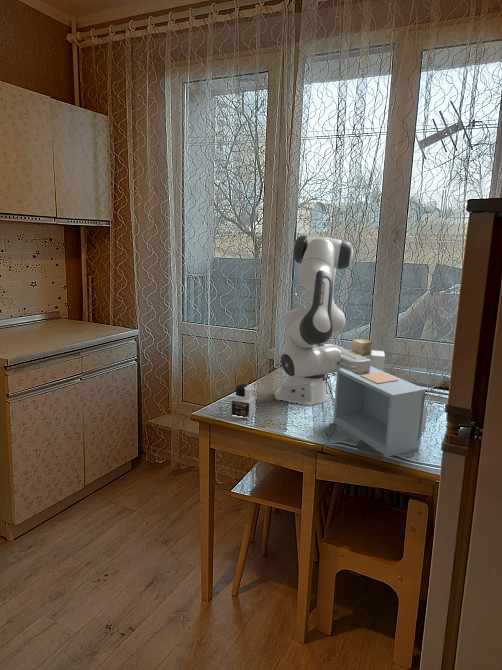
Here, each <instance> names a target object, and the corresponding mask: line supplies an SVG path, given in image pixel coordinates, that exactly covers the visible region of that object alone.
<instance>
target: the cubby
mask: <svg viewBox="0 0 502 670" xmlns="http://www.w3.org/2000/svg"><path fill="white" fill-rule="evenodd" d="M335 380H336V381H335V397H334V411H333V424H335V426H338V427H339V428H341V429H342V428H343V429H342V430H344V431H345V430H346V432H347V431H348V432H347V433H349V434H350V433H351V434H350V435H352V436H353V435H354V436H353V437H354V438H356V437H357V439H358V438H359V439H358V440H360V441H361V440H362V441H361V442H363V441H364V442H365V444H366V443H367V444H368V446H369V445H370V446H369V447H371V446H372V447H373V448H372V447H371V448H372V449H374V450H375V449H376V450H375V451H377V452H378V451H379V452H378V453H380V452H381V453H380V454H382V455H383V454H384V455H383V456H385V457H386V458H389V457H392V456H395V455H400V454H405V453H407V452H412V451H416V450H419V449H420V443H421V436H422V435H421V434H422V431H421V427H422V419H423V410H424V405H425V400H426V399H425V398H426V393H427V392H426V391H427V389H426V388H424V387H422V386H419V385H417V384H414V383H412V382H410V381H407V380H405V379H402V378H400V377H398V376H395V375H392V374H390V373H388V372H386V371H384V370H383V371H381V370H379V369H376V368H374V367H370V372H369V374H364V375H357V374H355V373H353V372H350V371H348V370H345V369H343V368H341V367H340V369H339V371H338V372H336V379H335ZM364 442H363V443H364ZM367 444H366V445H367ZM388 456H389V457H388Z"/></svg>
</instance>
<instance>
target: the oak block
mask: <svg viewBox="0 0 502 670" xmlns="http://www.w3.org/2000/svg"><path fill="white" fill-rule="evenodd" d="M372 347H373V341H371V340H368V339H365V338H358V339H352V345H351V350H352V352H354V353H356V354H359V355H361V356H364V355H369V356H371V350H373V349H372ZM370 360H371V359H370ZM369 372H370V370H369V371H362V372H353V373H355V374H357V375H364V374H369Z"/></svg>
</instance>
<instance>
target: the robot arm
mask: <svg viewBox="0 0 502 670" xmlns="http://www.w3.org/2000/svg"><path fill="white" fill-rule="evenodd" d="M292 256H293V260H294V261H295V263H297V264H299V265H300V267H299V272H298V281H299V284H300V285H301V287H302V288H304V292H305V293H304V294H305V296H306V297H307V299H308V300H310V301H311V302H310V307H304V308H303V307H301V308H300V307H299V308H294V309H291V310H288V311H287V312H286V313H285V315H284V319H283V327H284V329H285V330H284V333H283V334H284V336H283V338H284V350H283V353H282V355H281V359H280V364H281V367H282V369H283V371H284V372H285V373H286V374H287V375H288V376H287V377H286V378H284V379H283V380H282V382H281V384H280V387H279V388H278V389H276V391H275V392H274V396H275V397H274V399H275V398H276V399H279V400H278V401H280V400H284V401H283V402H285V401H288V402H287V403H291V402H292V403H293V404H296V403H298V404H297V405H301V406H302V405H303V406H308V407H309V406H313V405H316V404H323V403H325V402H327V400H328V396H327V395H328V394H327V390H326V379H327V374H328V375H329V374H333V373H337V372H338V371H339V369H341V368H343V369H345V370H348V371H350V372H362V371H369V370H370V367H371V360H370V359H371V356H369V355H364V356H361V355H359V354H356V353H354V352H352V349H347V348H345V347H341V346H340V345H337V344H334V343H326V342H328V340H329V339H330V338H331V337H332V336H333V334H337V333H340V332H342V331H343V330H344V328H345V326H346V320H347V319H346V316H345V314H344V312H343V311H342V310H341V309H340V308H339V307H338V306H337V304H336V303H335V299H334V290H335V279H336V275H337V274H336V273H337V270H344V269H347V268H349V267H350V265H351V263H352V262H353V258H354V249H353V245H352V243H351V242H350V241H348V240H345V239H342V240H341V239H339V238H338V239H337V238H334V237H327V236H325V237H323V236H308V235H300V236H298V237H297V238H296V240H294V243H293V245H292ZM323 343H324V344H323ZM276 399H275V400H276ZM292 403H291V404H292Z"/></svg>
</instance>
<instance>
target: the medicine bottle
mask: <svg viewBox="0 0 502 670" xmlns="http://www.w3.org/2000/svg"><path fill="white" fill-rule="evenodd" d="M252 391H253V387H252V386H251V385H249V384H245V383H243V384H239V385H236V387H235V396H234V397H233V398H232V399H231V416H232V415H237V416H243V417H248V418H249V417H250V416H251V415H252V414H253V413H254V412H255V413H256V396H255V395H252V394H253V393H252ZM255 413H254V414H255Z"/></svg>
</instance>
